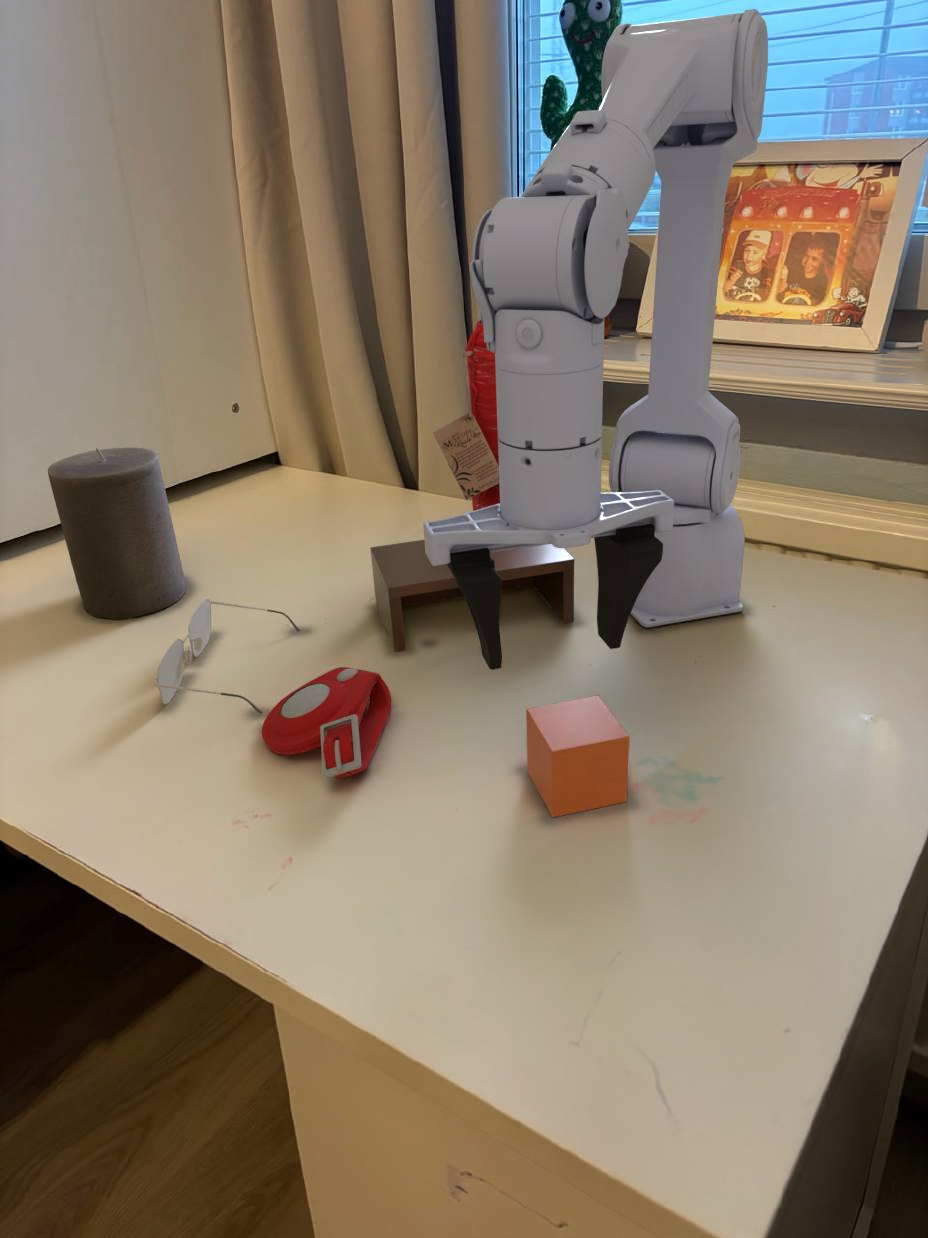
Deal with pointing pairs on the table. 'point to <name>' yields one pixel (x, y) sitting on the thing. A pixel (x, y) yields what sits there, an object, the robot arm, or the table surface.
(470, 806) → the table surface
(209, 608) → the eyeglasses
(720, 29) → the robot arm
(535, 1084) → the table surface
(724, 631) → the table surface
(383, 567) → the shelf
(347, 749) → the tracker holder
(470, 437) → the water bottle
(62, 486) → the pillar candle
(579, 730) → the plain orange wooden cube
